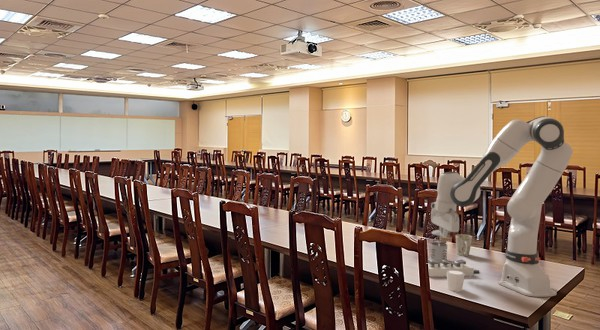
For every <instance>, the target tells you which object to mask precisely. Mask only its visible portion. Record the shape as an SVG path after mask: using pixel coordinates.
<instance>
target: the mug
mask: <svg viewBox="0 0 600 330" xmlns="http://www.w3.org/2000/svg"><path fill="white" fill-rule="evenodd" d="M472 241H473V236H472V235H470V234H460V233H459V234H458V233H457V234H455V248H456V254H457V255H458V256H462V257H467V256H469V255H470V251H471V247H472Z"/></svg>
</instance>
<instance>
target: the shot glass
mask: <svg viewBox="0 0 600 330" xmlns="http://www.w3.org/2000/svg"><path fill="white" fill-rule="evenodd" d="M464 275H465V273H464V272H461V271H457V270H448V271H447V276H446V286H447V290H449V291H452V292H458V293H459V292H462V291H463V288H464V287H463V286H464V279H465V276H464Z"/></svg>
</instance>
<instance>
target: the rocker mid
mask: <svg viewBox="0 0 600 330" xmlns="http://www.w3.org/2000/svg"><path fill="white" fill-rule="evenodd" d="M440 263H442V264H444V265H447V264H451V266H453V262H451V261H449V260H448V261H444V260H441V261H440Z"/></svg>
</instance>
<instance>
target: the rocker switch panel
mask: <svg viewBox="0 0 600 330" xmlns="http://www.w3.org/2000/svg"><path fill="white" fill-rule="evenodd" d="M427 264H428V267H429V276H430V277H431V278H432V277H447V271H448V270H457V271H461V272H464V273H465V275H464V277H473V276H474V274H479V273H480V270H479V269H478V270H477V269H474V268H475V267H473V266H471V265H469V264H467V263H466V264H460V266H455V265H454V264H453V266H451V264H447V265H444V264H442V263H440V266H438V264H434V265H430V264H429V263H427ZM430 277H429V278H430Z"/></svg>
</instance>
